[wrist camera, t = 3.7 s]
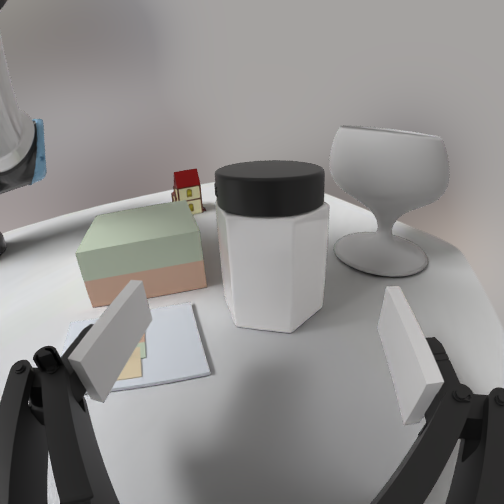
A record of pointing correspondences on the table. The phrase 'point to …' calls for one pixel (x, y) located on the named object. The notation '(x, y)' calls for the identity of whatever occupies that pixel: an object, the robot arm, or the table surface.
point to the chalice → (387, 192)
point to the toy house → (188, 190)
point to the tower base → (142, 252)
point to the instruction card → (159, 349)
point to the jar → (272, 242)
